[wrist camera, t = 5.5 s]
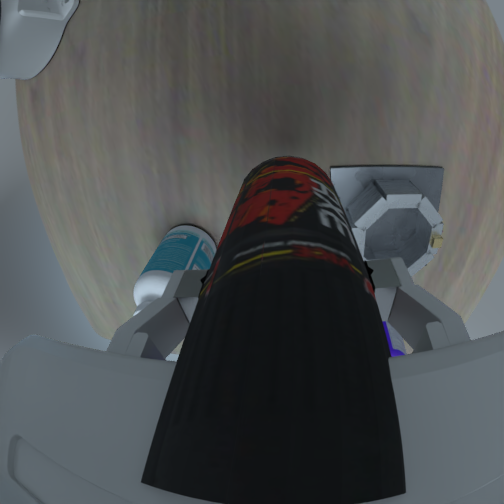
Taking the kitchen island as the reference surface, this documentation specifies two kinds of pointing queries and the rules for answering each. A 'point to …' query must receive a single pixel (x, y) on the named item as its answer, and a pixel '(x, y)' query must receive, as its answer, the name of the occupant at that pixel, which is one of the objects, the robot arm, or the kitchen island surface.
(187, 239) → the pill bottle
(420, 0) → the kitchen island surface
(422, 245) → the hub collar
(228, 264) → the deodorant
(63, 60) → the kitchen island surface
